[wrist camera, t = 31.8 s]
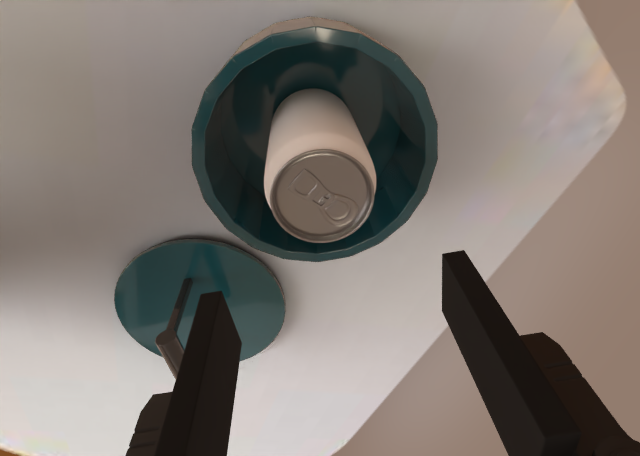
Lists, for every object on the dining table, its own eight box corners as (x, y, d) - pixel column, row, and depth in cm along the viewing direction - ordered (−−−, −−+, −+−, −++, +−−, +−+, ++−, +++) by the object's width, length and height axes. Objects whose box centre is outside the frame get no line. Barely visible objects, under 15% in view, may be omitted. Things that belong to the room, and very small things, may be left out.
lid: (156, 367, 45) (126, 451, 37) (88, 251, 37) (31, 327, 29) (298, 344, 45) (300, 424, 37) (264, 221, 36) (257, 290, 28)
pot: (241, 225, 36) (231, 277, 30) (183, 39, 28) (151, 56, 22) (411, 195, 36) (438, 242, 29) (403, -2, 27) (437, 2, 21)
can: (316, 181, 34) (328, 267, 24) (254, 134, 31) (237, 208, 21) (369, 123, 31) (407, 191, 21) (306, 67, 29) (315, 114, 19)
